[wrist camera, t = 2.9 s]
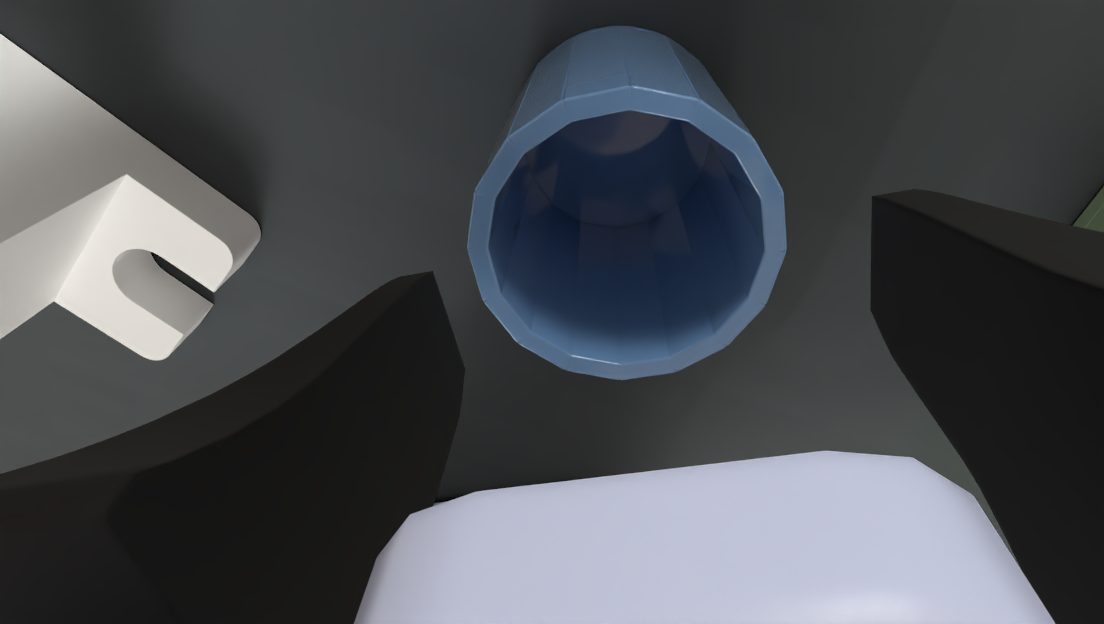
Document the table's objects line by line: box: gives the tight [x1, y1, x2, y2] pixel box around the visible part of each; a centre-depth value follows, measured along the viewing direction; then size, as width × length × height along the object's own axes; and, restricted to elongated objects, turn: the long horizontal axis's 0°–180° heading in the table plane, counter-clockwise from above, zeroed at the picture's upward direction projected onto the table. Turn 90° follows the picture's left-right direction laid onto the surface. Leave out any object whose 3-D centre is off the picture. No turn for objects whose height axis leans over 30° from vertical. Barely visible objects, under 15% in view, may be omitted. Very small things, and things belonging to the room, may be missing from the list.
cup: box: [467, 26, 787, 380], centre depth 16 cm, size 6×6×8 cm
